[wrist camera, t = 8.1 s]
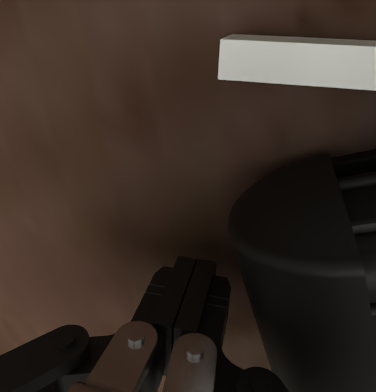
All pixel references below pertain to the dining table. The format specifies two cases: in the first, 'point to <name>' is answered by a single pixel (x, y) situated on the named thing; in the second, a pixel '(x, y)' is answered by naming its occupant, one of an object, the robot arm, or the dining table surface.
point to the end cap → (313, 270)
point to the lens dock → (299, 61)
